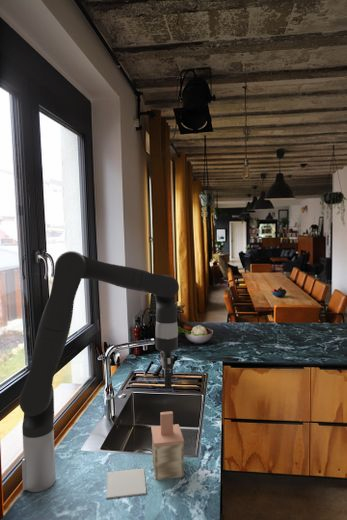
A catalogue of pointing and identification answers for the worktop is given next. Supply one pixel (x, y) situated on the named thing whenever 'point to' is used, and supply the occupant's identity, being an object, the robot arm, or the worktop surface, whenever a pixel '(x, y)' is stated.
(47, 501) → the worktop surface
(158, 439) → the lid
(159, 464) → the box
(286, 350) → the worktop surface
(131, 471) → the mat
